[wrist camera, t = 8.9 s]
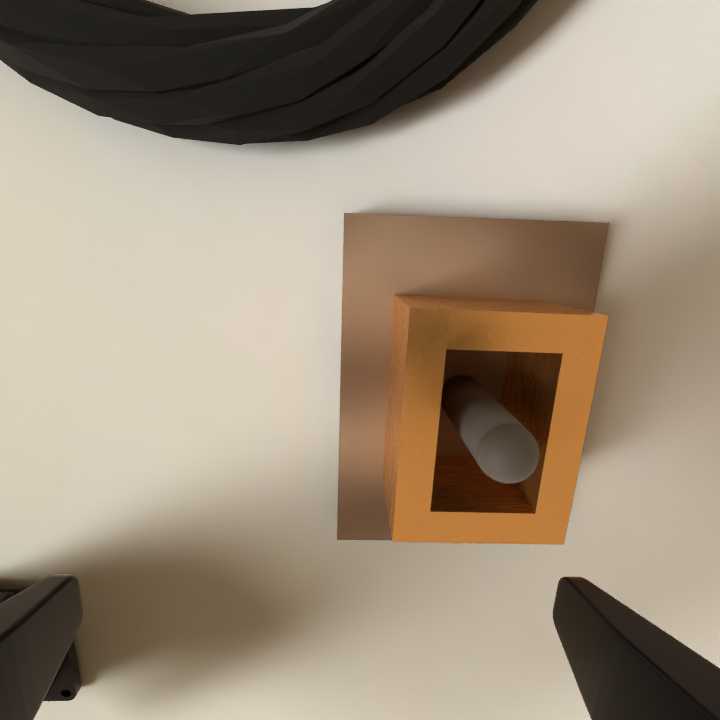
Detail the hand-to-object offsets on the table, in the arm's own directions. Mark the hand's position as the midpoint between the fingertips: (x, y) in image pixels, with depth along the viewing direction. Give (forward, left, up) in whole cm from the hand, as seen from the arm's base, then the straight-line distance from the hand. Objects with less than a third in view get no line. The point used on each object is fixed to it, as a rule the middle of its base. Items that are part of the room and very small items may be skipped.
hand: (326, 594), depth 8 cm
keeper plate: (+1, -5, -11) cm, 12 cm away
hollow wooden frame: (+1, -5, -10) cm, 11 cm away
